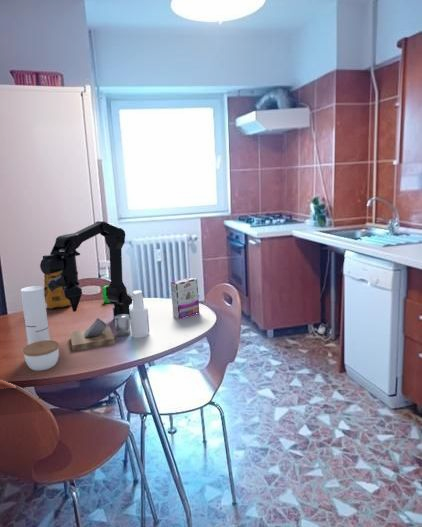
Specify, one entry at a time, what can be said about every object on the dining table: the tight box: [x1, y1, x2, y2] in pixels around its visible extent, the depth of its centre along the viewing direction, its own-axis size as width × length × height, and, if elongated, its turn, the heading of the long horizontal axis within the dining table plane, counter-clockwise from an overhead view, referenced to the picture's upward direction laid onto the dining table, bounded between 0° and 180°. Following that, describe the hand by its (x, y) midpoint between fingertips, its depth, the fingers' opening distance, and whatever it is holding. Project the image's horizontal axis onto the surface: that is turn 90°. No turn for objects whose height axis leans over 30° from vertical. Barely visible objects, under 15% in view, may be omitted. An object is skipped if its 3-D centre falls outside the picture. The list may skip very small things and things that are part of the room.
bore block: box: [69, 325, 116, 352], centre depth 160 cm, size 15×15×3 cm
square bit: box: [84, 317, 108, 338], centre depth 160 cm, size 4×4×8 cm
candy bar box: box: [170, 277, 200, 320], centre depth 184 cm, size 11×5×16 cm, turn 129°
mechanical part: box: [102, 285, 110, 304], centre depth 217 cm, size 12×6×8 cm, turn 164°
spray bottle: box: [129, 290, 150, 339], centre depth 162 cm, size 7×7×18 cm
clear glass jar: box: [114, 314, 132, 338], centre depth 165 cm, size 6×6×8 cm
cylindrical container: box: [20, 285, 51, 345], centre depth 146 cm, size 7×7×25 cm
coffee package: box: [43, 271, 71, 309], centre depth 209 cm, size 10×12×22 cm
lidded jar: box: [22, 339, 60, 372], centre depth 139 cm, size 11×11×9 cm
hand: (73, 308), depth 164 cm, fingers open, 9 cm apart
